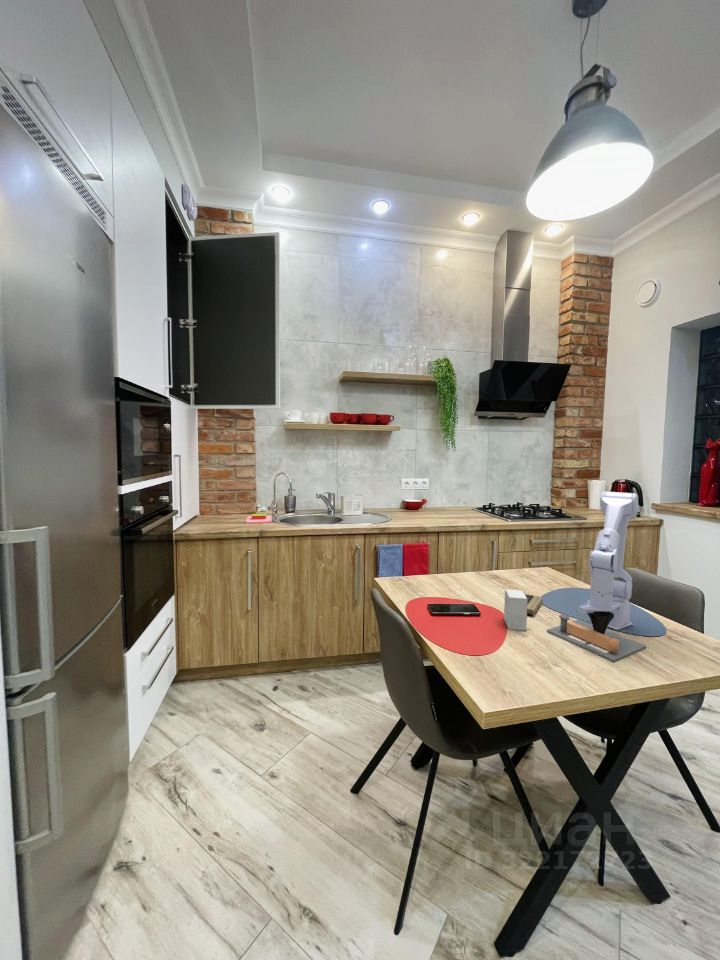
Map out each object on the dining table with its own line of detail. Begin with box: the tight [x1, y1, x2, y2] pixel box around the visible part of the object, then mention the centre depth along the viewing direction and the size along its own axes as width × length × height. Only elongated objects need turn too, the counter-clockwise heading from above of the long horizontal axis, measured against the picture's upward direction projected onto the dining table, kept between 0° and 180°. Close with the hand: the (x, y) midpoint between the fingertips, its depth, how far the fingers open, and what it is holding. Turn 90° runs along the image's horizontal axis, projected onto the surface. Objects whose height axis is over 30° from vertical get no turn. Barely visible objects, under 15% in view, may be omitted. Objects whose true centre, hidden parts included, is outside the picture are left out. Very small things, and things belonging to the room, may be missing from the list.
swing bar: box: [567, 620, 619, 653], centre depth 111 cm, size 2×14×3 cm, turn 29°
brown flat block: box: [525, 594, 544, 618], centre depth 139 cm, size 16×8×3 cm, turn 144°
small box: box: [503, 588, 528, 631], centre depth 124 cm, size 8×6×10 cm
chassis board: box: [546, 614, 647, 663], centre depth 115 cm, size 17×20×5 cm
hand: (598, 634), depth 113 cm, fingers closed
